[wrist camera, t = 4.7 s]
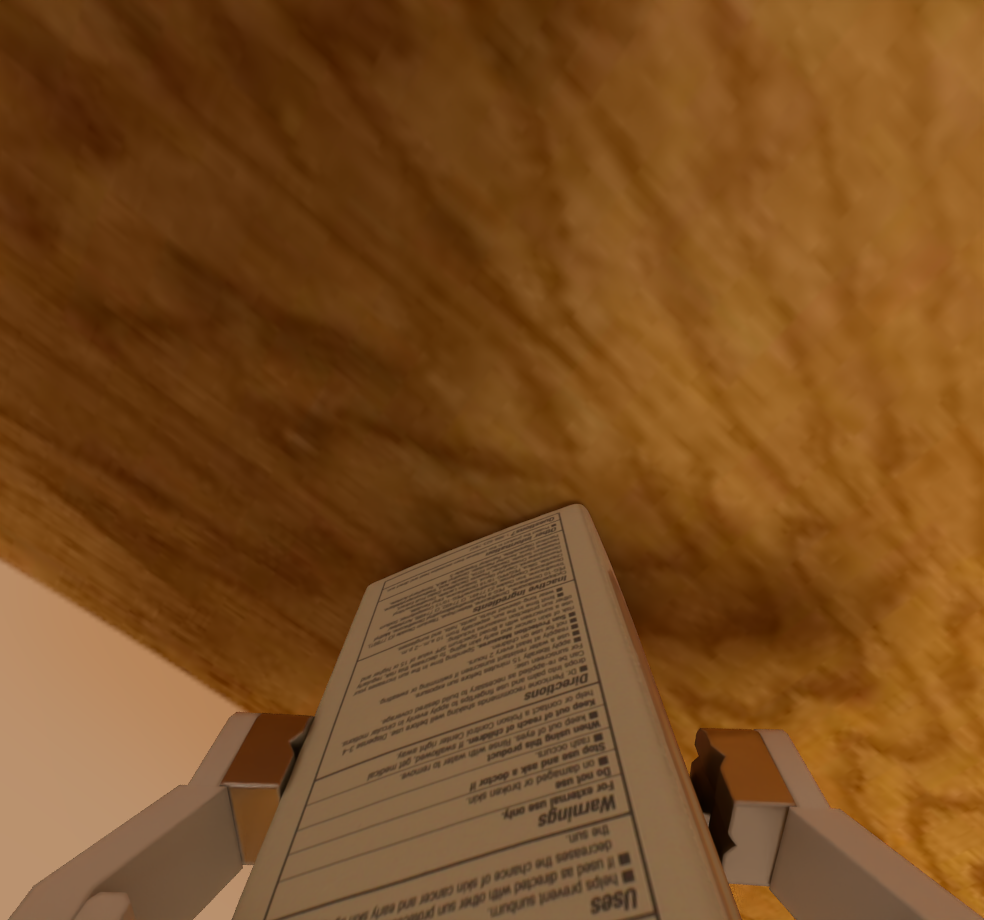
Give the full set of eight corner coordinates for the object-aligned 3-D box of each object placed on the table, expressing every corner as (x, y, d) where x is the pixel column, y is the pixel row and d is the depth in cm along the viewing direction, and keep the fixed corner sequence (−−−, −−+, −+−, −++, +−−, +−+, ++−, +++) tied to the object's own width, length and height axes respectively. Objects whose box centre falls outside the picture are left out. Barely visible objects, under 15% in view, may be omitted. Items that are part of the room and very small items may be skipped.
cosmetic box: (434, 701, 16) (250, 1748, 5) (363, 578, 15) (-111, 1607, 4) (651, 629, 15) (1061, 1753, 4) (594, 491, 14) (955, 1554, 3)
